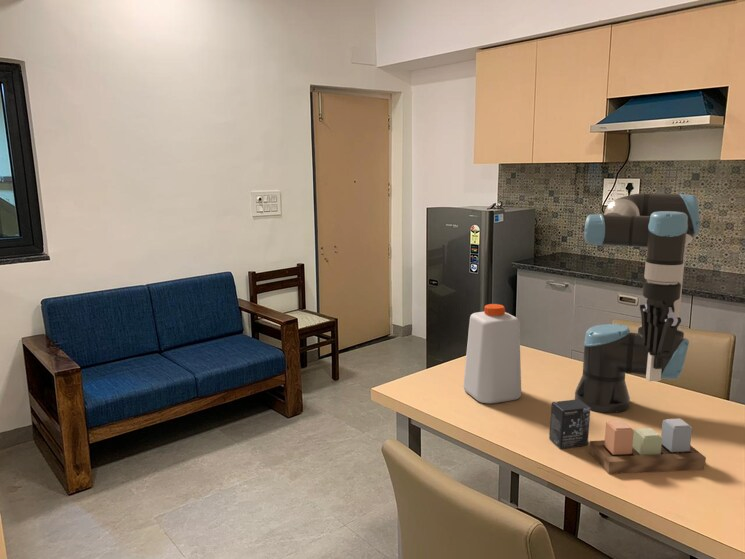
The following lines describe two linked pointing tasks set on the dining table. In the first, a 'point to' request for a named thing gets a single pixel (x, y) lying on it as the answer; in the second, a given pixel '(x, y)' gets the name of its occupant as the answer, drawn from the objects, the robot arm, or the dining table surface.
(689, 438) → the slate button
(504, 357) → the plastic bottle
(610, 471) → the wooden tray
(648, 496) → the dining table surface
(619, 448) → the salmon pink block
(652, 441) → the sage button
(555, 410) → the box
